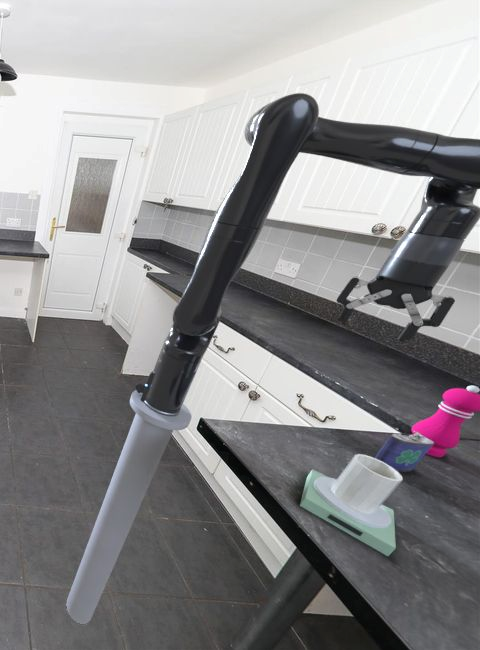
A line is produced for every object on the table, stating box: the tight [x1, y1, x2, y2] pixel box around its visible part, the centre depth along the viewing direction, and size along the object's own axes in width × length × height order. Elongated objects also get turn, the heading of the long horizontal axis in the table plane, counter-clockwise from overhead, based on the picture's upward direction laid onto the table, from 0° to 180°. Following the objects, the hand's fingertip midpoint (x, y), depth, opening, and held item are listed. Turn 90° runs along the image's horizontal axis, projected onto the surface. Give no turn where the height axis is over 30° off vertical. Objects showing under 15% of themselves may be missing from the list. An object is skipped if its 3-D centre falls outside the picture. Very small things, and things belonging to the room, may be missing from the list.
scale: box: [299, 469, 397, 557], centre depth 66 cm, size 12×12×3 cm
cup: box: [331, 453, 404, 514], centre depth 64 cm, size 6×6×9 cm
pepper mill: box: [411, 385, 480, 458], centre depth 84 cm, size 7×7×20 cm
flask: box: [374, 431, 434, 473], centre depth 78 cm, size 9×3×11 cm, turn 89°
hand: (370, 331), depth 71 cm, fingers open, 8 cm apart
